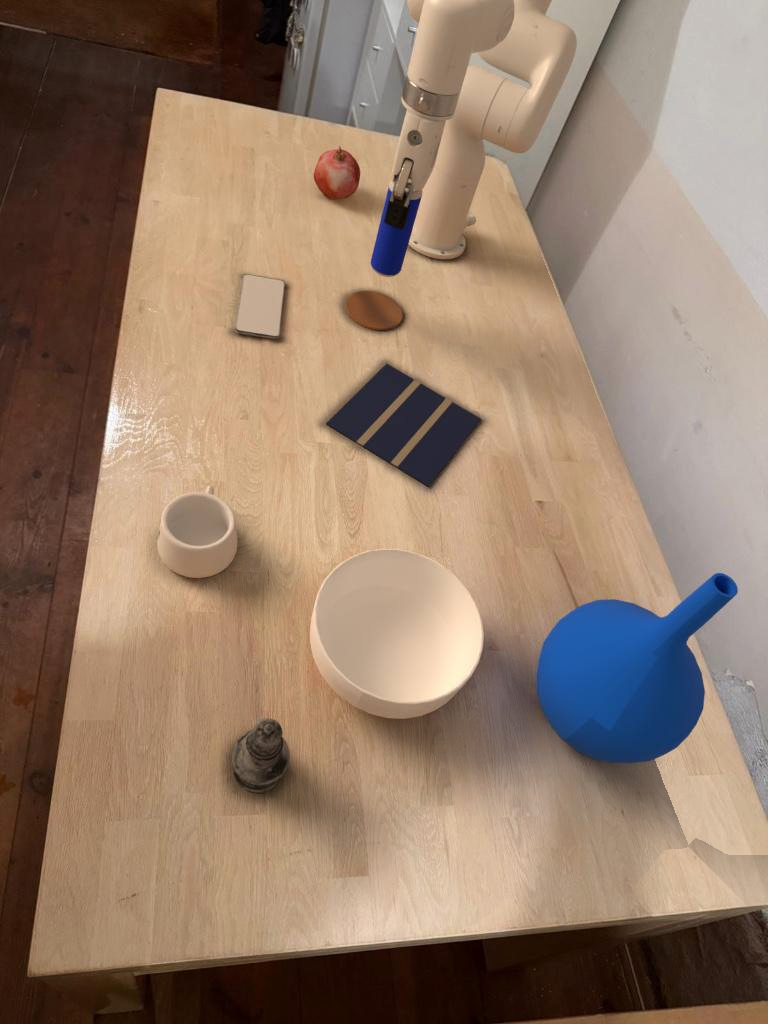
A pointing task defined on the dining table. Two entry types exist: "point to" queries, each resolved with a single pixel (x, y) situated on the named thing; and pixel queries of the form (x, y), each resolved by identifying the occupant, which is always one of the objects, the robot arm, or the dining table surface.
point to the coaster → (374, 310)
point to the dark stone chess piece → (260, 757)
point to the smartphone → (260, 306)
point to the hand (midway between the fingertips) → (399, 215)
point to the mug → (197, 534)
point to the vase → (627, 675)
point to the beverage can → (394, 238)
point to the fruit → (337, 174)
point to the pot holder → (405, 424)
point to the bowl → (395, 633)
